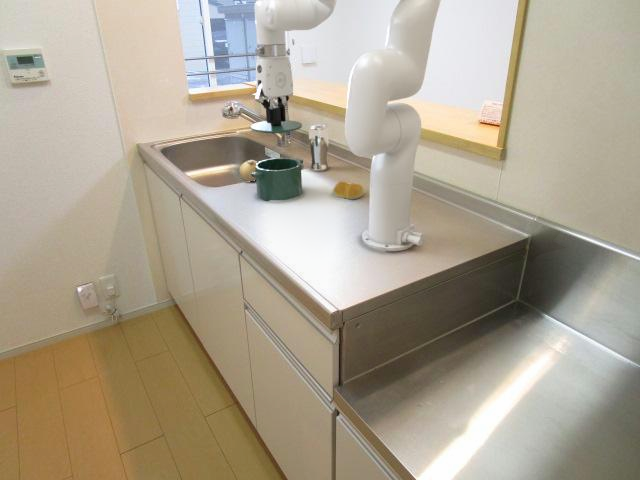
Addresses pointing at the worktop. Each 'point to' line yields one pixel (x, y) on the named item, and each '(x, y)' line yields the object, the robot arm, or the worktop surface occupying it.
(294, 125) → the lid
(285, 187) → the pot
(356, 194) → the bread roll
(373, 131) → the robot arm
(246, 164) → the onion
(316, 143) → the pepper mill
